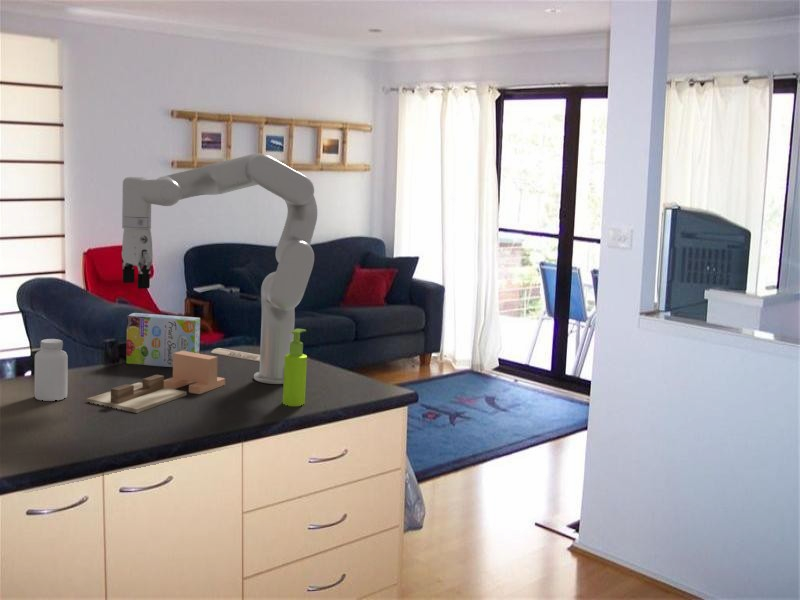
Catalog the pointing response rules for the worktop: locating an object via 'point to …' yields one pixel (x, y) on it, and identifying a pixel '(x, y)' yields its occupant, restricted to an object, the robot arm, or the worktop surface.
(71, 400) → the worktop surface
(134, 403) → the base
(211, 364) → the cross plate
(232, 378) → the worktop surface
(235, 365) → the worktop surface
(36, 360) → the pill bottle
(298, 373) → the soap dispenser
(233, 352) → the newspaper
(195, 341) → the snack box
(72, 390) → the worktop surface
